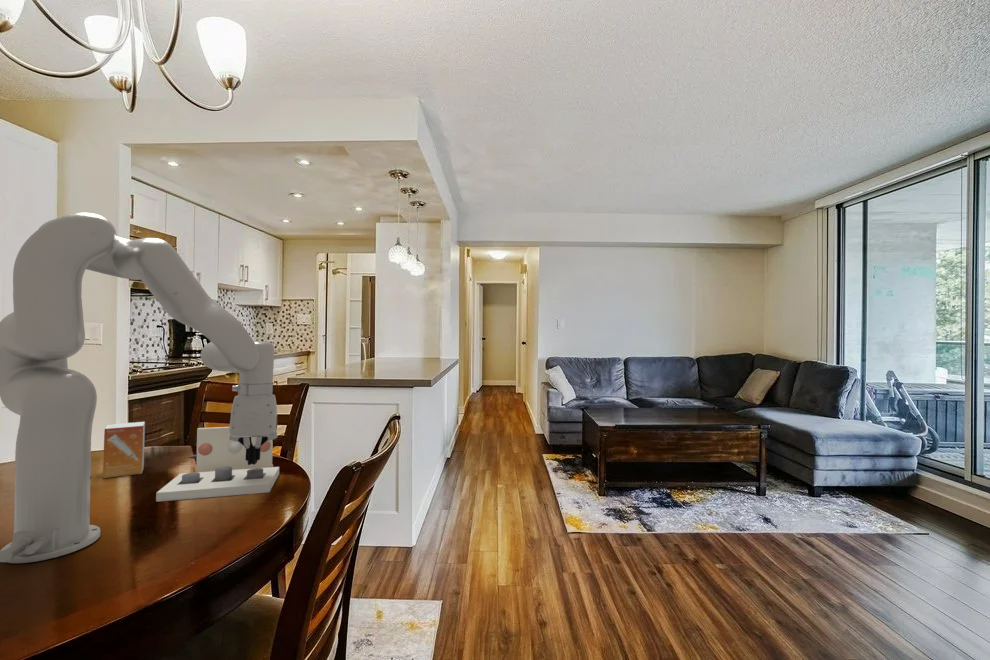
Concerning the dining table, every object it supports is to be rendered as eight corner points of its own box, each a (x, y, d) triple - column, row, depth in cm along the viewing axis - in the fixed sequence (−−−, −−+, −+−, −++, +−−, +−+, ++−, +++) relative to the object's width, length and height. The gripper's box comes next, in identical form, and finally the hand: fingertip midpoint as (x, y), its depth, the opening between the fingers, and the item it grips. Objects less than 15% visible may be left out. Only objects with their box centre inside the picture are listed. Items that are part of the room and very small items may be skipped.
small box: (102, 479, 113) (103, 428, 113) (105, 472, 118) (106, 424, 118) (142, 473, 118) (143, 425, 118) (144, 467, 123) (145, 421, 123)
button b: (229, 482, 108) (229, 470, 108) (212, 483, 107) (213, 471, 107) (233, 477, 111) (233, 465, 111) (217, 478, 110) (217, 466, 110)
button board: (269, 492, 106) (269, 483, 106) (156, 501, 99) (156, 492, 99) (279, 474, 119) (279, 466, 119) (180, 481, 112) (180, 473, 112)
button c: (261, 484, 110) (261, 471, 110) (245, 485, 109) (245, 473, 109) (264, 479, 113) (264, 467, 113) (248, 480, 112) (248, 468, 112)
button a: (196, 489, 106) (196, 476, 106) (179, 490, 105) (179, 477, 105) (201, 484, 109) (201, 472, 109) (184, 485, 108) (185, 473, 108)
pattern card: (270, 472, 120) (271, 426, 120) (194, 478, 115) (195, 430, 115) (273, 468, 124) (273, 423, 124) (199, 473, 119) (200, 426, 119)
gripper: (217, 392, 105) (214, 469, 105) (286, 391, 110) (282, 465, 109) (226, 388, 113) (223, 460, 112) (290, 388, 117) (287, 458, 116)
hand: (252, 463), depth 111 cm, fingers closed
